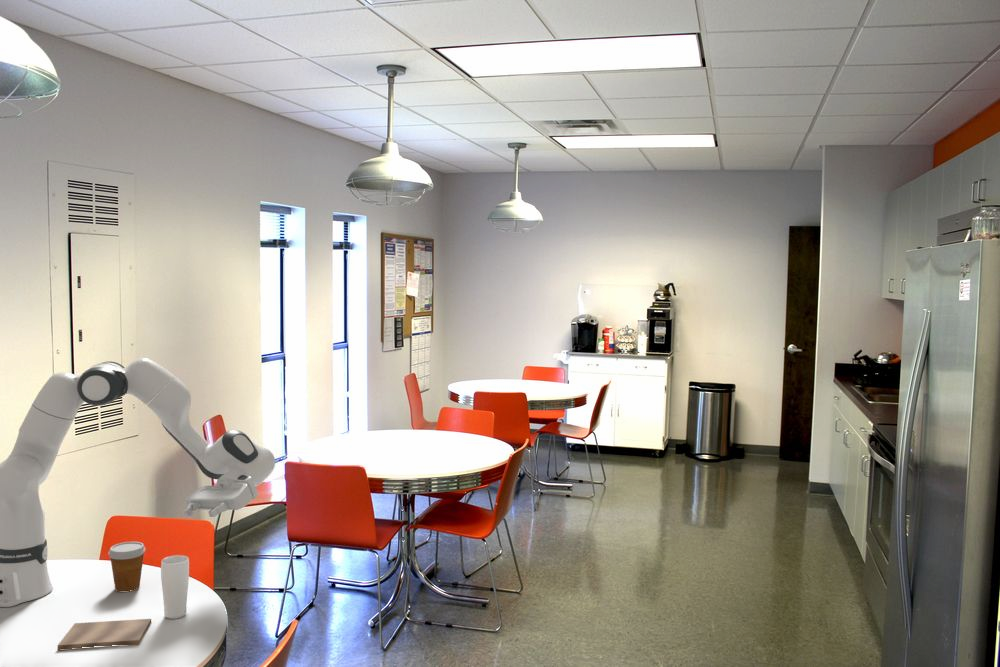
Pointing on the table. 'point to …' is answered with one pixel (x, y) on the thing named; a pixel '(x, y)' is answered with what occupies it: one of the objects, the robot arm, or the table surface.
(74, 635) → the walnut board
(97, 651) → the table surface
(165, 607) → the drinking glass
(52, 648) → the table surface
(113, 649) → the table surface
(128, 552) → the disposable coffee cup
